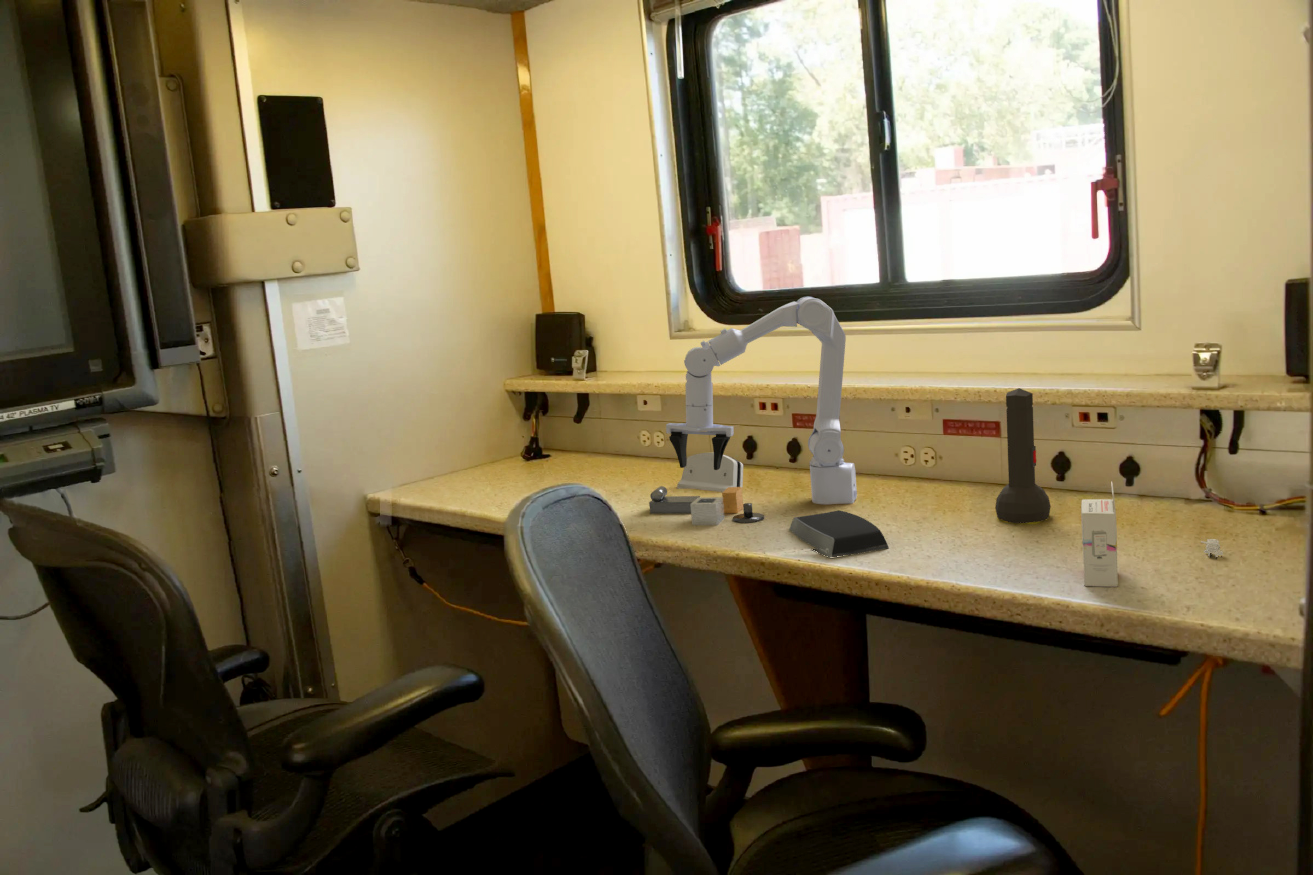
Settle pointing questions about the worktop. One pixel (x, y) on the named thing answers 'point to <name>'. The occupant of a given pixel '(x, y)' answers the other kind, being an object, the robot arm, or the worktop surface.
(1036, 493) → the flashlight
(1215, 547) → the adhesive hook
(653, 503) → the chain housing
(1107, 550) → the ink cartridge box
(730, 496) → the chain slider
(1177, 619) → the worktop surface
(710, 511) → the grey recessed block
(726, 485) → the light grey piece
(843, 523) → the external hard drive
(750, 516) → the post
